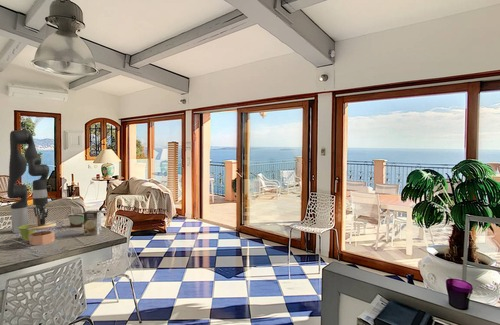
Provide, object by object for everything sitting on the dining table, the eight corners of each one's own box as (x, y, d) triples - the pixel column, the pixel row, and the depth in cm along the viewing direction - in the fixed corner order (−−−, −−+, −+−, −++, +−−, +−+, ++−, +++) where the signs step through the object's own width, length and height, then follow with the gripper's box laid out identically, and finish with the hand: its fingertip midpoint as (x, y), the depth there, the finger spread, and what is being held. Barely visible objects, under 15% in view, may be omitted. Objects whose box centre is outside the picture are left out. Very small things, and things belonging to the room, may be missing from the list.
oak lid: (21, 228, 181) (21, 217, 181) (48, 222, 194) (48, 212, 194) (33, 231, 174) (33, 219, 173) (60, 225, 186) (60, 214, 186)
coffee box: (83, 236, 198) (82, 212, 197) (88, 233, 204) (87, 210, 203) (97, 235, 198) (96, 212, 197) (101, 233, 205) (101, 210, 204)
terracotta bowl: (26, 244, 182) (26, 234, 182) (48, 238, 193) (47, 229, 192) (36, 247, 176) (35, 237, 176) (57, 241, 186) (57, 232, 186)
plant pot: (22, 242, 185) (22, 229, 185) (16, 240, 190) (15, 227, 190) (39, 238, 193) (39, 225, 193) (33, 236, 198) (32, 223, 198)
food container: (89, 225, 224) (88, 212, 224) (84, 227, 218) (83, 214, 218) (74, 225, 226) (73, 212, 225) (68, 227, 219) (68, 214, 219)
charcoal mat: (45, 236, 197) (45, 235, 197) (71, 230, 212) (71, 229, 212) (59, 240, 189) (58, 239, 188) (85, 233, 203) (85, 232, 203)
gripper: (27, 196, 183) (29, 224, 184) (39, 198, 176) (40, 227, 177) (41, 194, 190) (42, 221, 190) (52, 196, 182) (53, 224, 183)
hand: (41, 224), depth 184 cm, fingers closed on oak lid, 3 cm apart
